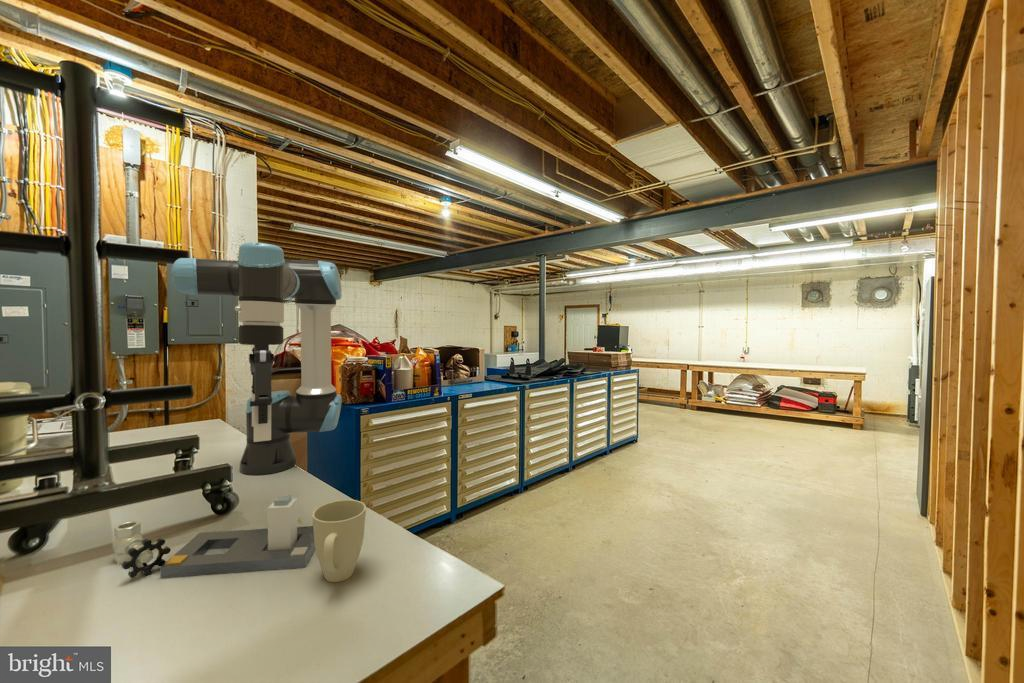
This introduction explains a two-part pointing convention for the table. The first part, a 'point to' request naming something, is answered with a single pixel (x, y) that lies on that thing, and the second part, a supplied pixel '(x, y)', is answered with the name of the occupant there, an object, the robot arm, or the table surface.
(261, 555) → the grey slotted tray
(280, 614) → the table surface
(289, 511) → the plug
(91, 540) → the table surface
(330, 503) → the mug
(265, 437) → the robot arm
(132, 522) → the valve
